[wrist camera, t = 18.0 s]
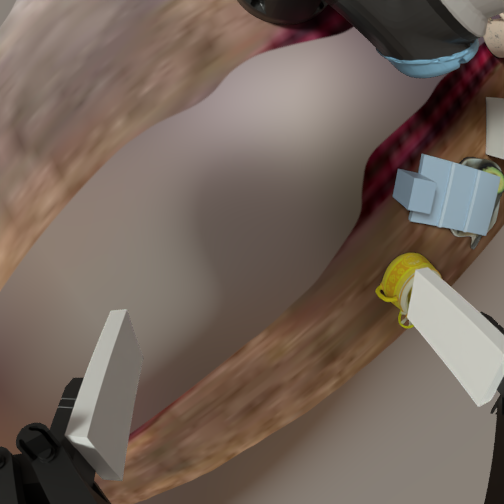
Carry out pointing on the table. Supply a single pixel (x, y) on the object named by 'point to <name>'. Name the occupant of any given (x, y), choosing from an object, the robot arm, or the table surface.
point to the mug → (402, 281)
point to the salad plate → (495, 169)
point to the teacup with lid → (495, 36)
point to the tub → (495, 127)
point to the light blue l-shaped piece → (448, 195)
